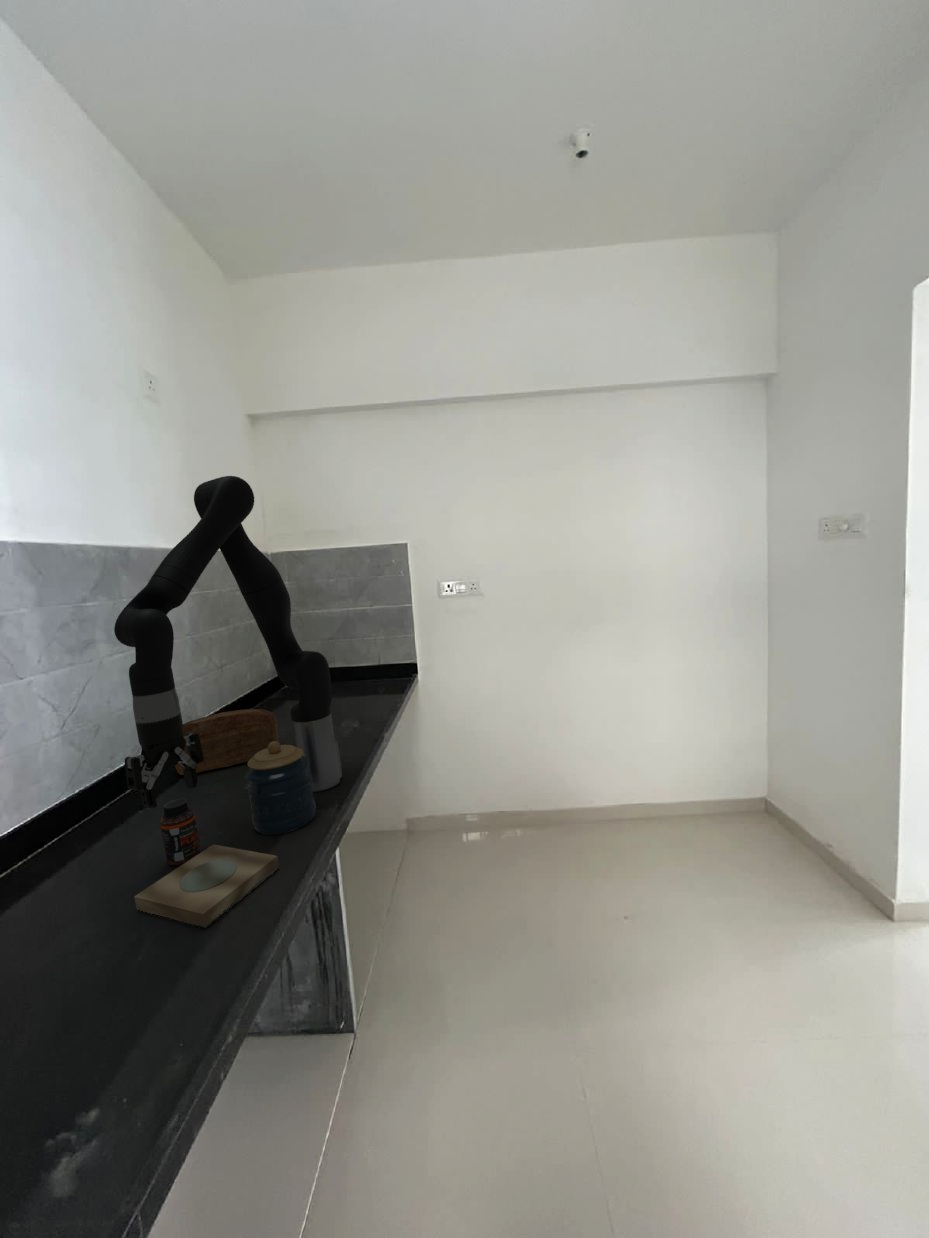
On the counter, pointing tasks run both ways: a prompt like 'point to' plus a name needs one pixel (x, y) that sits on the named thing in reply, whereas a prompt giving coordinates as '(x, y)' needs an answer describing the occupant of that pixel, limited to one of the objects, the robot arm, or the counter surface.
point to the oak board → (206, 884)
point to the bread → (231, 737)
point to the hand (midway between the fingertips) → (172, 797)
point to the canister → (280, 789)
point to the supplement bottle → (179, 832)
